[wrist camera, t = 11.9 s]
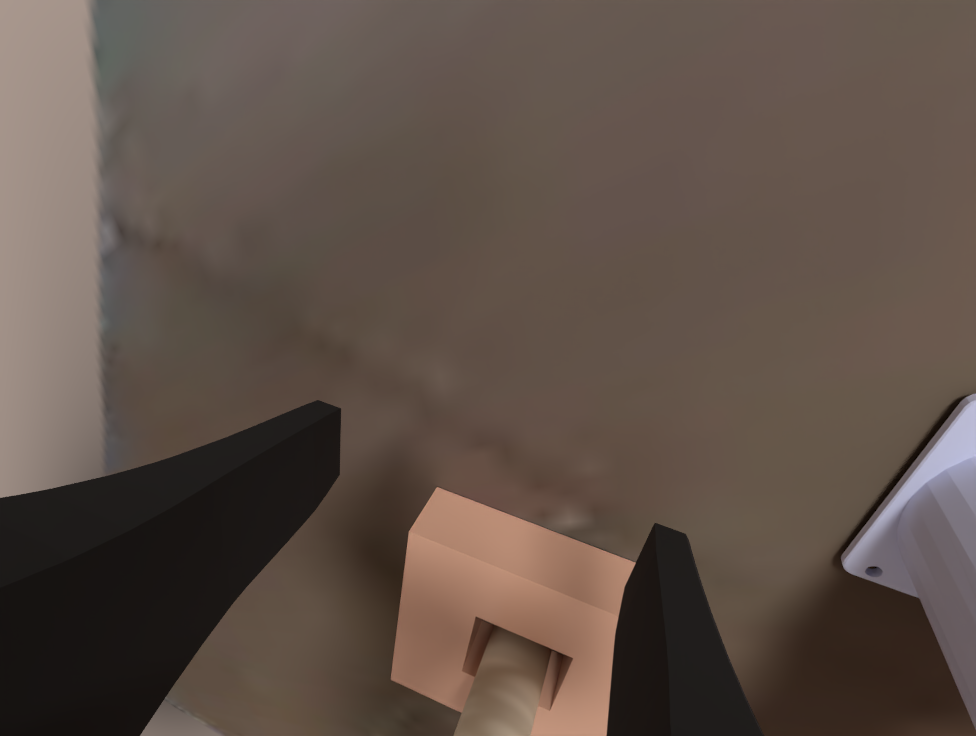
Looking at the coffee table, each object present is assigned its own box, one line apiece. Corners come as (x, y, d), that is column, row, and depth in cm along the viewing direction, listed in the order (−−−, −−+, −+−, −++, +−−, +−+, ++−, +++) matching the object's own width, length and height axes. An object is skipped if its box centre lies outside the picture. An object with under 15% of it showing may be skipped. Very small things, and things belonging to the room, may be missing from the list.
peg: (558, 598, 26) (511, 774, 20) (560, 638, 28) (516, 815, 21) (500, 585, 27) (437, 749, 21) (505, 624, 29) (447, 790, 22)
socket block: (689, 583, 23) (688, 644, 21) (611, 720, 29) (603, 779, 27) (437, 487, 25) (408, 531, 23) (414, 632, 32) (390, 679, 29)
